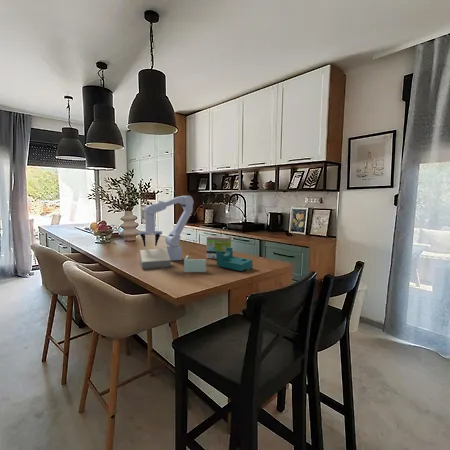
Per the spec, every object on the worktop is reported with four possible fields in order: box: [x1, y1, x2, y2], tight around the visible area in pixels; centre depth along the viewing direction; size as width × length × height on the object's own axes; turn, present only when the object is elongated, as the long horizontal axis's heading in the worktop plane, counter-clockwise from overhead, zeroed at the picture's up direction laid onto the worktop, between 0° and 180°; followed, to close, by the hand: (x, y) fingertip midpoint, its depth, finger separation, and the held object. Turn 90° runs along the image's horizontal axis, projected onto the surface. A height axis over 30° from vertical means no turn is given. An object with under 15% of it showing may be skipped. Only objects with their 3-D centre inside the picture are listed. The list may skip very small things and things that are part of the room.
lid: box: [139, 247, 170, 262], centre depth 170 cm, size 16×14×1 cm
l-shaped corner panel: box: [183, 255, 207, 273], centre depth 162 cm, size 12×12×8 cm
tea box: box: [206, 235, 232, 260], centre depth 193 cm, size 15×10×15 cm
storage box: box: [139, 257, 171, 270], centre depth 170 cm, size 16×14×4 cm
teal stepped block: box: [216, 247, 254, 272], centre depth 165 cm, size 18×11×10 cm, turn 50°
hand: (150, 246), depth 178 cm, fingers open, 6 cm apart
